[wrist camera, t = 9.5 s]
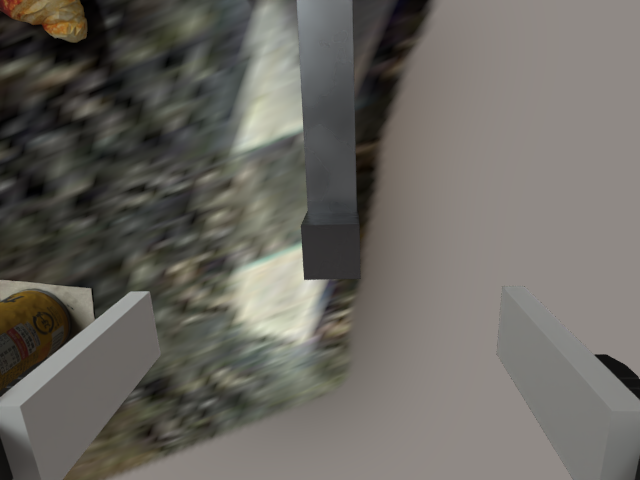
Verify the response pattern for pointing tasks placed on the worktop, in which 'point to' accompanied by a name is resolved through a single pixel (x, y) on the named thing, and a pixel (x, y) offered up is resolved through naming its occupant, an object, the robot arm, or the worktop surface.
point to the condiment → (38, 323)
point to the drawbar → (329, 140)
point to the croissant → (50, 16)
